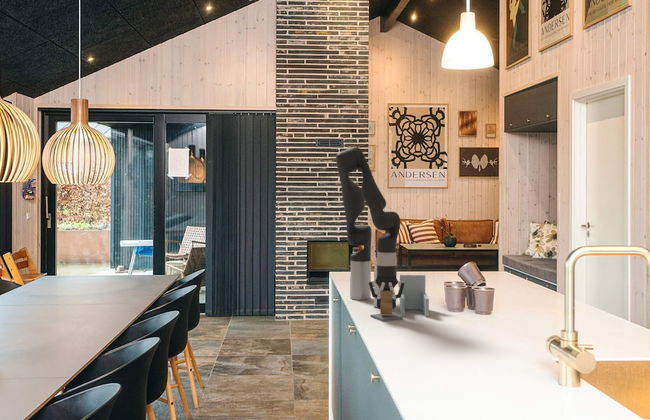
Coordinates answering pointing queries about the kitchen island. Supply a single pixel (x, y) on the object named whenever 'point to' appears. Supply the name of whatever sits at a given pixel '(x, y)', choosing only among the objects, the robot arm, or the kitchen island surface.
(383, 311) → the walnut block
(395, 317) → the slate pad
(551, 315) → the kitchen island surface
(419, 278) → the shelf bay
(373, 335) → the kitchen island surface
